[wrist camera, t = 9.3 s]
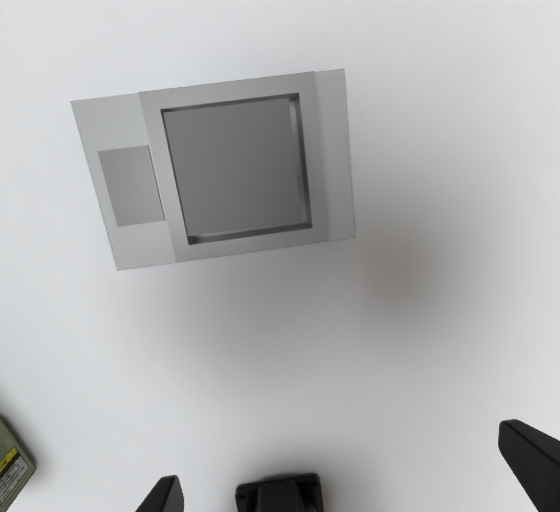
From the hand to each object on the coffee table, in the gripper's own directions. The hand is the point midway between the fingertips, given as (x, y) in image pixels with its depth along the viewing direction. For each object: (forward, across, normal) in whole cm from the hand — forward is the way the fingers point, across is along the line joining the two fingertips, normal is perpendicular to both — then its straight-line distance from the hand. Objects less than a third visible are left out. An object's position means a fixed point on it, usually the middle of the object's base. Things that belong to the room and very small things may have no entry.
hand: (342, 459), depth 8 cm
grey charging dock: (+12, +3, -8) cm, 15 cm away
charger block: (+11, +2, -8) cm, 14 cm away
